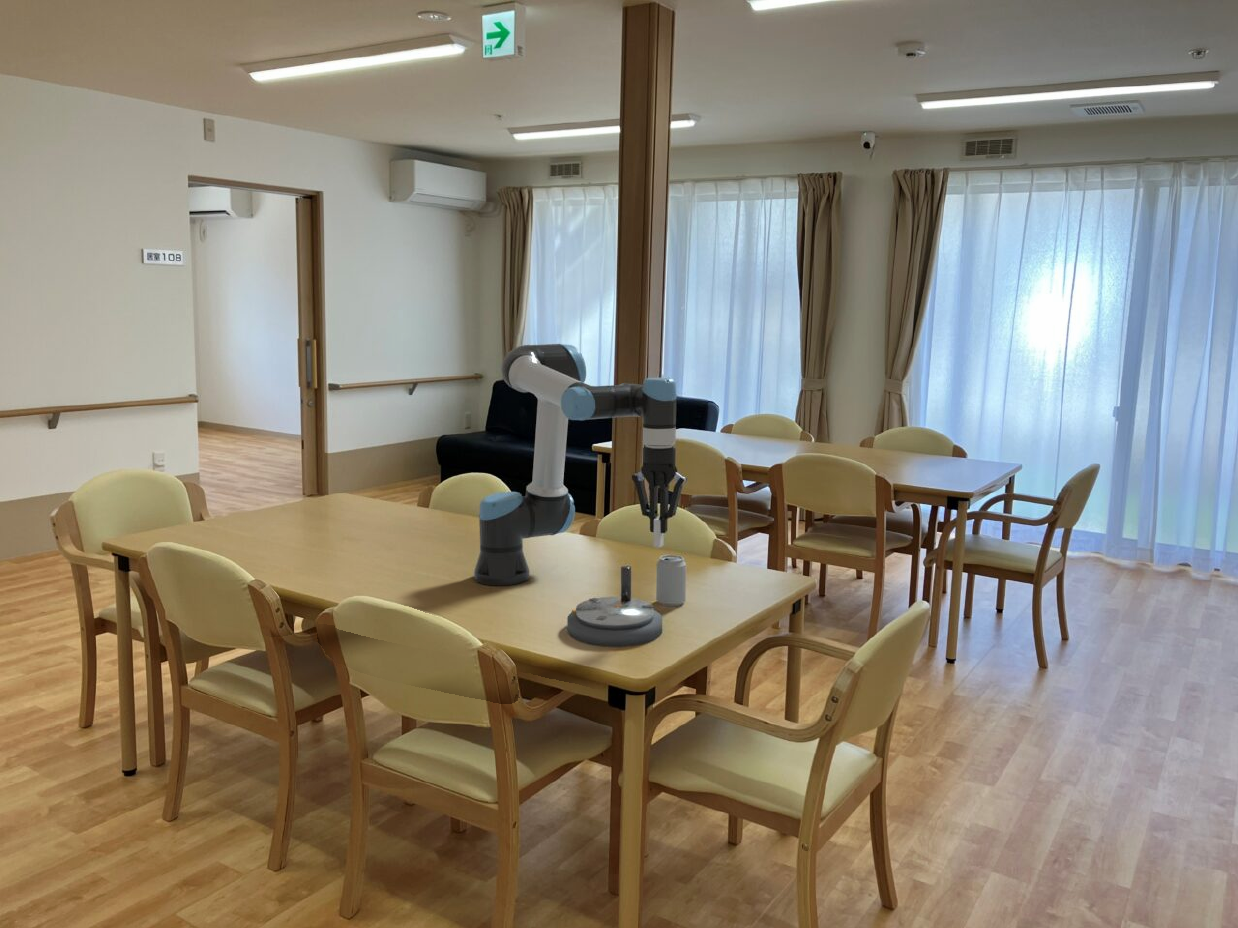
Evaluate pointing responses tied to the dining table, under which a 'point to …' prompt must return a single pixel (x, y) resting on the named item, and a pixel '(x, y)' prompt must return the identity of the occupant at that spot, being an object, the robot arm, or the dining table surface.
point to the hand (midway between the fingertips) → (658, 546)
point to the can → (671, 580)
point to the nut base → (614, 633)
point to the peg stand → (616, 609)
